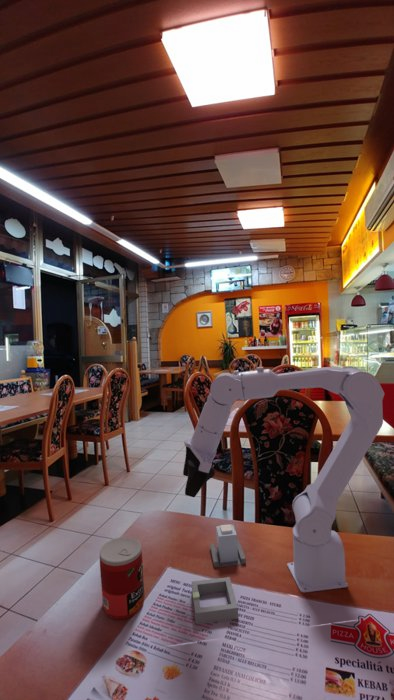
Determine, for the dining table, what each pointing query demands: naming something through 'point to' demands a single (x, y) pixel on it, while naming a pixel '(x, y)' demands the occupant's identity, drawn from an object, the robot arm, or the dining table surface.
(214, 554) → the grey ridged plate
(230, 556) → the plug
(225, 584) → the port
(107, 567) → the canned food
